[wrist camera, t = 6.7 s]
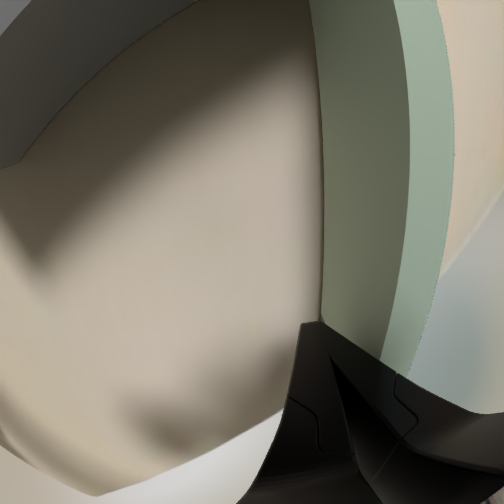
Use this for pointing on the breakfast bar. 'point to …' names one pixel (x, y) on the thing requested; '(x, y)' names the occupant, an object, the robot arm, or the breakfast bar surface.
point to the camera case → (61, 56)
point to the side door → (383, 168)
